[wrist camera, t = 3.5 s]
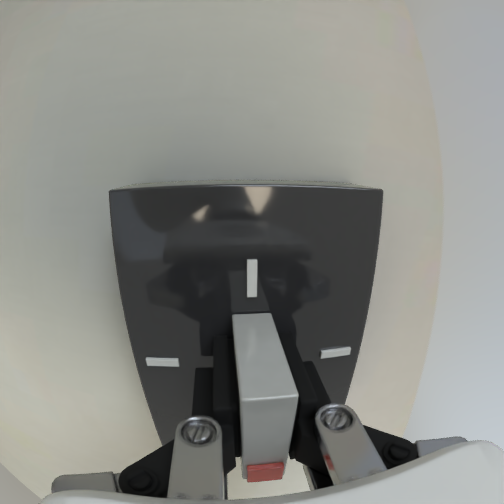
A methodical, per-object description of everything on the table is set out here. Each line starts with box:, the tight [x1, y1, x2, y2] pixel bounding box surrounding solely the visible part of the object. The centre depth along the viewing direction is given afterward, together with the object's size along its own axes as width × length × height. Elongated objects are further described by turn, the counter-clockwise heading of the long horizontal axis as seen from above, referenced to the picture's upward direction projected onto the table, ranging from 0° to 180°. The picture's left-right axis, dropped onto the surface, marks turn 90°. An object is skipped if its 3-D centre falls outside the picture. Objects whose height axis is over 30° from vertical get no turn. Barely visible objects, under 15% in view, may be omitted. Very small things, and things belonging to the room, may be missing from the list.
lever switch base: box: [109, 180, 383, 446], centre depth 13 cm, size 14×10×3 cm
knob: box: [232, 313, 299, 482], centre depth 9 cm, size 5×2×5 cm, turn 0°
